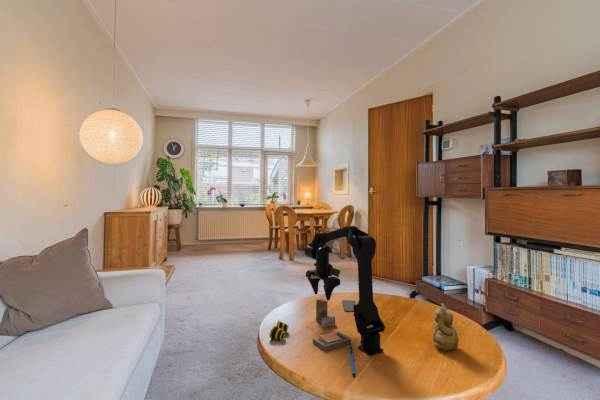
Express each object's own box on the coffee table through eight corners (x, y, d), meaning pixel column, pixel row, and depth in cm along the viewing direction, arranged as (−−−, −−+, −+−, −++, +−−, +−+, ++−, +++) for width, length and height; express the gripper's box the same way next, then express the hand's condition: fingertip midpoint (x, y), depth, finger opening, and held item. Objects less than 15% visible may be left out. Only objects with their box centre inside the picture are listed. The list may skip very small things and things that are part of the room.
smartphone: (344, 310, 144) (341, 299, 159) (344, 312, 144) (341, 301, 159) (359, 311, 143) (355, 300, 158) (359, 313, 143) (355, 302, 158)
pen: (351, 348, 108) (352, 345, 108) (355, 379, 89) (355, 375, 89) (349, 348, 109) (349, 345, 109) (352, 379, 90) (352, 375, 90)
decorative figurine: (434, 339, 115) (434, 300, 116) (458, 344, 112) (459, 304, 112) (432, 350, 107) (432, 308, 107) (458, 356, 103) (459, 312, 103)
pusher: (335, 324, 128) (335, 303, 128) (323, 327, 125) (323, 305, 125) (325, 318, 135) (325, 298, 135) (313, 321, 132) (313, 300, 132)
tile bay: (351, 343, 112) (351, 339, 112) (324, 351, 106) (324, 346, 106) (338, 335, 118) (338, 331, 118) (312, 342, 112) (312, 338, 112)
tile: (341, 344, 112) (341, 338, 112) (328, 347, 109) (328, 342, 109) (332, 337, 117) (332, 332, 117) (319, 341, 114) (319, 335, 114)
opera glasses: (281, 344, 112) (283, 331, 112) (267, 340, 113) (270, 327, 113) (288, 333, 121) (290, 321, 121) (276, 329, 123) (278, 317, 122)
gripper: (350, 263, 128) (350, 300, 128) (325, 256, 144) (325, 289, 144) (329, 266, 122) (328, 305, 122) (305, 258, 138) (304, 292, 138)
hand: (322, 297), depth 132 cm, fingers open, 9 cm apart
